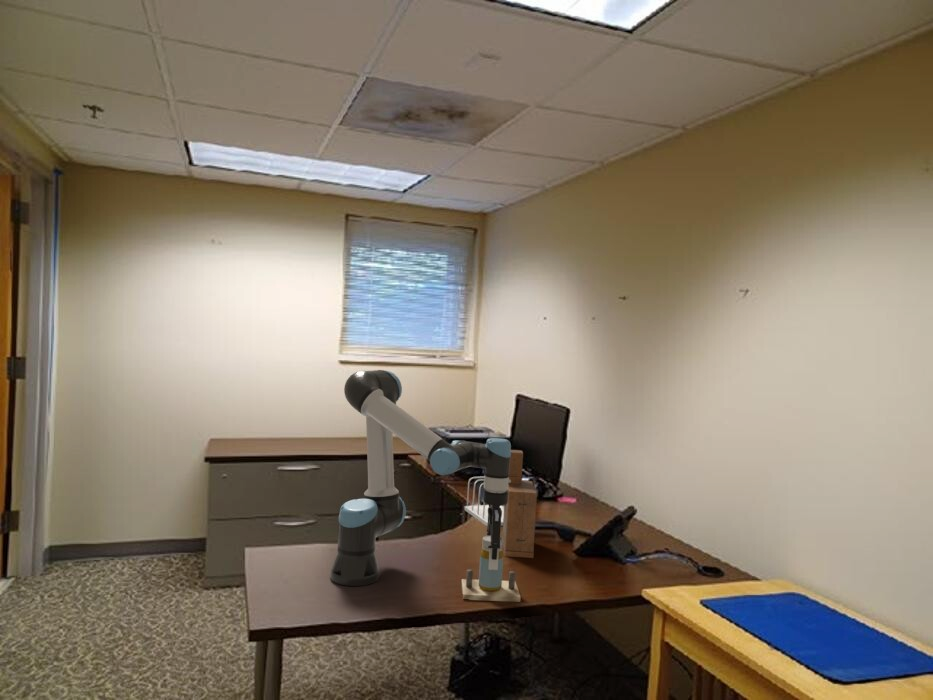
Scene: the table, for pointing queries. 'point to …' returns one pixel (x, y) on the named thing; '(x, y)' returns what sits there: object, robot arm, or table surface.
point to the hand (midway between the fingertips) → (491, 563)
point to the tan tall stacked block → (519, 512)
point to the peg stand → (503, 594)
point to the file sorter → (480, 506)
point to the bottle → (488, 578)
